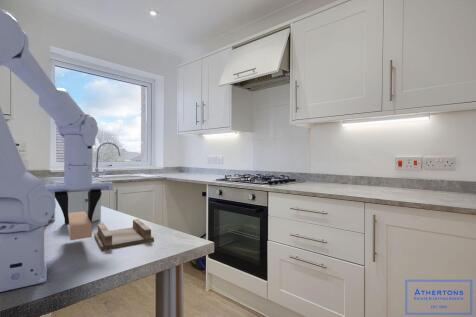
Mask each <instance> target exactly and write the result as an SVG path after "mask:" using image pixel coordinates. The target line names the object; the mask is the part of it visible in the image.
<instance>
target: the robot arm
mask: <svg viewBox="0 0 476 317" xmlns="http://www.w3.org/2000/svg"><path fill="white" fill-rule="evenodd" d="M29 46H30V45H29V36H28V34H27V33H26V32H25V31H24V30H23V29H22V27H21V26H20V23H19V22H18V21H17V19H15V17H14V16H13V15H12V14H11V13H9V12H8V11H7V10H4V9H2V8H0V67H1V66H3V67H6V68H7V69H9V71H11V72H12V73H13V74H14V75H15V76H16V77H17V78H18V79H20V81H22V83H24V84H25V85H26V86H27V87H29V89H31V91H33V92H34V93H35V94H36V95H37V96H38V97H39V98H38V105H39V107H40V108H42V110H44V111H45V113H46V114H48V116H50V118H52V120H54V124H55V125H56V127H57V132H58V134H59V135H60V136H61V137H63V139H64V140H63V141H64V142H63V143H64V145H63V148H64V149H63V152H64V154H63V155H64V156H63V159H64V160H63V161H64V162H63V167H64V168H63V170H64V171H63V172H64V173H63V174H64V175H63V177H64V178H63V179H64V180H63V182H64V183H54V184H50V185H44V183H45V182H44V181H43V180H42V179H41V178H38V177H37V176H35V175H34V174H32V173H30V172H29V171H27V168H26V167H25V163H24V161H23V159H22V157H21V153H20V152H19V150H18V147H17V144H16V142H15V139H14V137H13V135H12V132H11V129H10V128H9V125H8V123H7V120H6V117H5V115H4V112H3V110H2V107H1V106H0V293H2V292H7V291H10V290H16V289H19V288H25V287H29V286H33V285H39V284H42V283H45V282H47V281H48V280H47V276H48V261H47V260H45V226H47V225H48V224H49V223H48V221H49V220H50V219H51V218H52V216H53V214H54V212H55V213H56V208H57V207H56V204H57V203H58V205H59V207H60V209H61V212H62V214H63V218H64V222H65V223H64V225H65V226H67V225H69V216H68V192H84V191H89V192H88V218H89V219H90V221H91V223H93V222H92V217H93V213H94V210H95V207H96V205H97V203H98V201H99V199H100V197H101V198H102V194H103V193H102V191H113V190H114V187H113V184H114V183H113V182H112V181H99V182H92V181H93V149H94V148H93V146H95V144H96V138H97V136H98V133H99V127H98V122H97V120H96V119H95V117H94V116H92V115H90V114H89V113H88V114H87V113H85V112H84V111H83V110H82V108H81V107H80V106H79V105H78V103H77V102H76V101H75V99H74V98H73V97H72V96H71V95H70V93H69V92H68V91H67V89H65V88H62V87H56V85H55V84H54V82H53V81H52V79H50V77H49V75H47V73H46V72H45V70H44V69H43V67H42V66H41V64H40V63H39V61H37V59H36V58H35V57H34V55H33V54H32V52H31V51H30V48H29ZM81 188H88V189H81ZM70 189H78V190H70ZM53 193H55V198H54V196H53ZM56 202H57V203H56Z"/></svg>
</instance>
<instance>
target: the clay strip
mask: <svg viewBox="0 0 476 317" xmlns="http://www.w3.org/2000/svg"><path fill="white" fill-rule="evenodd" d="M68 216H69V225H66V226H67V232H68V236H69V240H70V241H74V240H76V241H77V240H82V239H88V238H92V237H93V236H92V235H93V234H92V232H93V230H92V229H93V228H92V227H93V222H91V221H90V219H89V218H88V216H87V214H86V212H85V211H82V212H72V213H68Z"/></svg>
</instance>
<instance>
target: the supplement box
mask: <svg viewBox="0 0 476 317" xmlns="http://www.w3.org/2000/svg"><path fill="white" fill-rule="evenodd" d="M92 182H100V180H99V181H93V180H92ZM81 189H88V188H81ZM70 190H78V189H70ZM88 192H89V191H84V192H68V213H72V212H82V211H85V212H86V214H87V216H88ZM101 212H102V196H101V197H100V199H99V201H98V203H97V205H96V207H95V210H94V213H93V217H92V222H91V223H93V222H96V221H99V220H101V219H102V218H101V217H102V216H101V215H102V214H101ZM64 224H65V221H64Z"/></svg>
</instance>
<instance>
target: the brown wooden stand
mask: <svg viewBox="0 0 476 317" xmlns="http://www.w3.org/2000/svg"><path fill="white" fill-rule="evenodd" d="M93 234H94V235H93V236H94V238H95V240H96V242H97V244H98V246H99V249H100V251H103V250H104V251H105V250H110V249H115V248H121V247H126V246H132V245H138V244H143V243H148V242H153V241H155V237H154V236H153V235H152V229H151V228H150V227H149V226H147V224H146V223H144V222H143V221H141V220H140V219H139V218H137V219H132V227H127V228H120V229H111V230H109V229H108V227H107V225H105V223H99V224H97V232H94V233H93Z"/></svg>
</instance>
